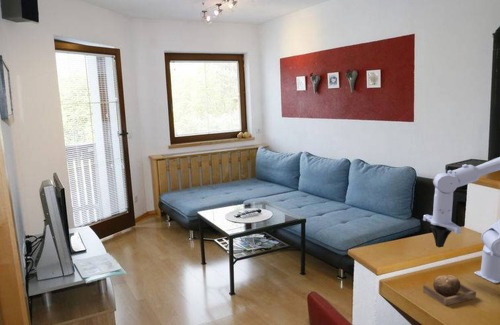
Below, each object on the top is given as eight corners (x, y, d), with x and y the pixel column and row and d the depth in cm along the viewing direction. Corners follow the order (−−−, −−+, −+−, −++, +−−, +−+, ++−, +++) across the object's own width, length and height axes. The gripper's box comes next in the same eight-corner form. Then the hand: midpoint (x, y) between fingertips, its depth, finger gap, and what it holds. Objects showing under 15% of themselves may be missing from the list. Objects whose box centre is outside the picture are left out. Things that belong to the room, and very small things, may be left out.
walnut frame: (451, 284, 130) (452, 278, 130) (475, 297, 122) (476, 291, 121) (423, 291, 126) (423, 285, 125) (445, 305, 118) (445, 299, 117)
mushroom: (460, 278, 127) (453, 266, 125) (468, 299, 121) (460, 287, 118) (435, 285, 130) (427, 274, 128) (441, 306, 124) (434, 294, 121)
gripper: (417, 204, 139) (415, 240, 141) (451, 216, 125) (447, 256, 128) (433, 201, 141) (430, 237, 144) (467, 213, 128) (464, 253, 130)
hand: (439, 246), depth 136 cm, fingers closed
